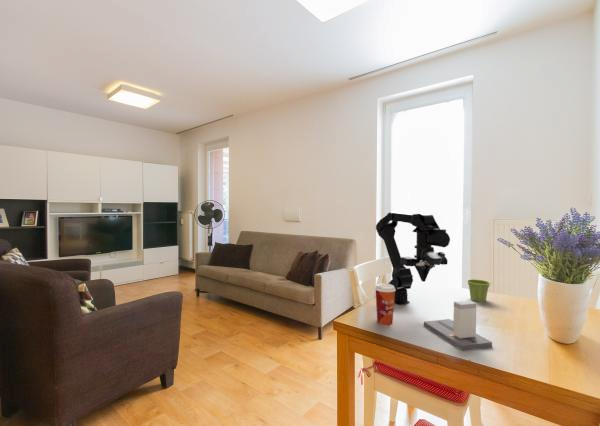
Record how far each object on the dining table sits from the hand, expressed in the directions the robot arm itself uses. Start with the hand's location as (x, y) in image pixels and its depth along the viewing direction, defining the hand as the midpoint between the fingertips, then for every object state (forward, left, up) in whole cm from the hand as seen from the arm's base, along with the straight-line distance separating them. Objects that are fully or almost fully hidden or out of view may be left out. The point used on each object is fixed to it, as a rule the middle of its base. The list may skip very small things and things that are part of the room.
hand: (423, 281), depth 122 cm
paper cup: (+2, -21, -13) cm, 25 cm away
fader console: (+20, -6, -13) cm, 25 cm away
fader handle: (+25, -7, -11) cm, 28 cm away
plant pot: (-2, +36, -13) cm, 38 cm away
